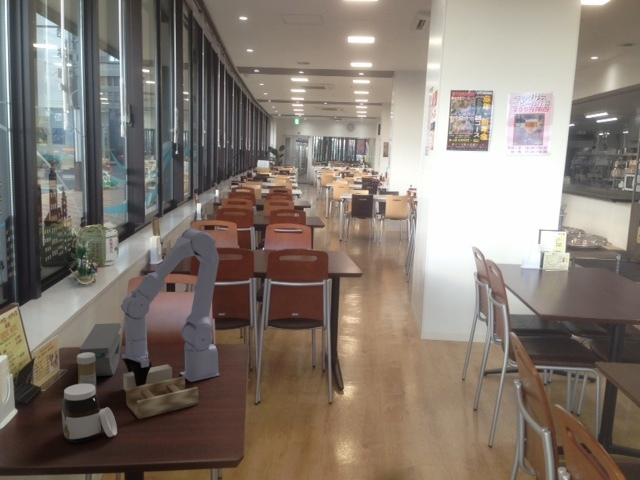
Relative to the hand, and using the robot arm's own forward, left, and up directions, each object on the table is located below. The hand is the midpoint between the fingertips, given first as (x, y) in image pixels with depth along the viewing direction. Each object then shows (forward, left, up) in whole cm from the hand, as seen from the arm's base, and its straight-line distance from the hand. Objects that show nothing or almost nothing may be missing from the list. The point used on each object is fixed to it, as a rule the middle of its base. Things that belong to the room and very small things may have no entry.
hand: (137, 384), depth 166 cm
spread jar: (+18, +21, -2) cm, 28 cm away
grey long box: (+4, -21, -2) cm, 21 cm away
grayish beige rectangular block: (-3, 0, -2) cm, 3 cm away
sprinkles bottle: (+14, +2, -2) cm, 14 cm away
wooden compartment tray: (-2, +14, -1) cm, 14 cm away
